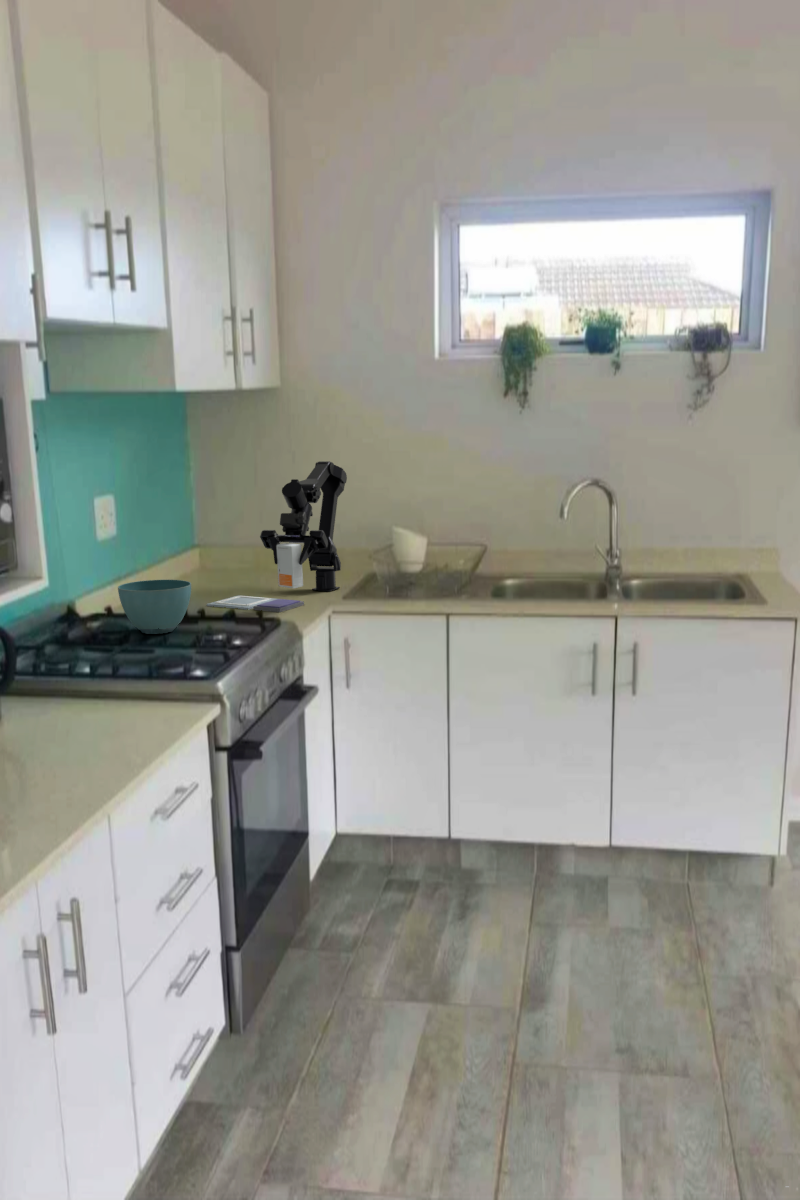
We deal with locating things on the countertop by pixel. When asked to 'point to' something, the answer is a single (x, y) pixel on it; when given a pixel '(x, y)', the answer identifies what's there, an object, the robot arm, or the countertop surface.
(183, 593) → the teal bowl
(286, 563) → the skincare box
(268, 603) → the ink pad
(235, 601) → the board
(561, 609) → the countertop surface
